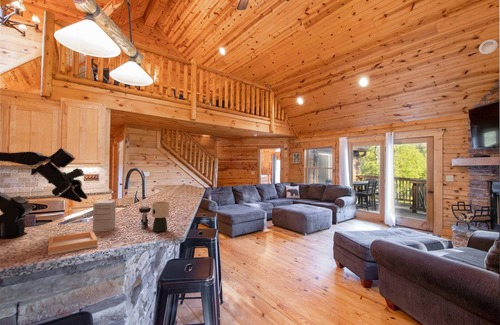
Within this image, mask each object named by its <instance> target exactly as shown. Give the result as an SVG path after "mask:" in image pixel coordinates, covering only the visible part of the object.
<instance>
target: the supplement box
mask: <svg viewBox="0 0 500 325" xmlns="http://www.w3.org/2000/svg"><path fill="white" fill-rule="evenodd" d="M92 207H93V208H92V231H93V232H107V231H109V230H110V231H112V230H113V229H114V228H115V227H116V208H117V207H116V200H115V199H114V200H111V199H110V200H109V199H108V200H98V201H95V202H94V203H93V206H92Z"/></svg>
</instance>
